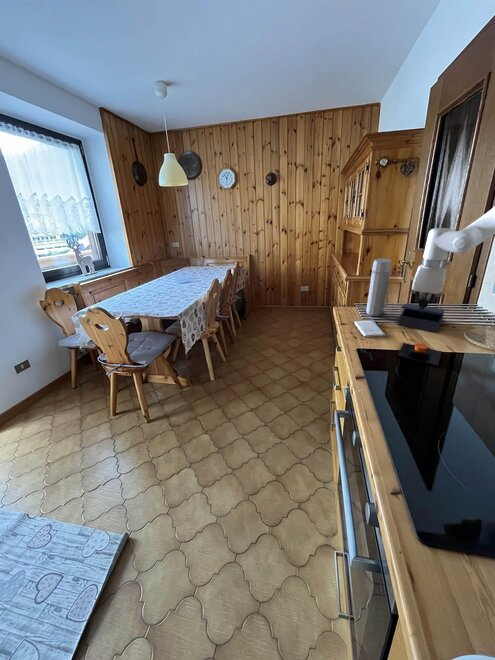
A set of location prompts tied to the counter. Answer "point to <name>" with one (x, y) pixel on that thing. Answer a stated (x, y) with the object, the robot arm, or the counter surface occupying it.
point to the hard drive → (369, 328)
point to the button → (421, 348)
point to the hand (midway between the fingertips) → (422, 307)
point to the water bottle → (378, 287)
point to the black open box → (420, 320)
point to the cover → (426, 309)
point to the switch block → (420, 355)
